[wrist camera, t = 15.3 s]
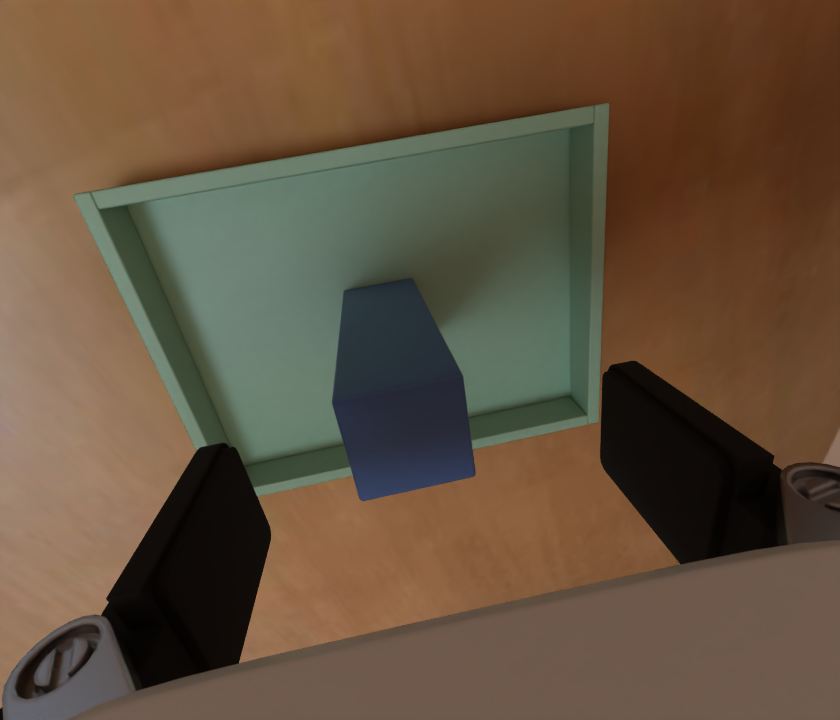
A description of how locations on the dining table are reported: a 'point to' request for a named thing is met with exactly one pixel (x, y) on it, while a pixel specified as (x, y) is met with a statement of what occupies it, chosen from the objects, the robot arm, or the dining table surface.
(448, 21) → the dining table surface
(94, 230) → the tray
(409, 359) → the block
